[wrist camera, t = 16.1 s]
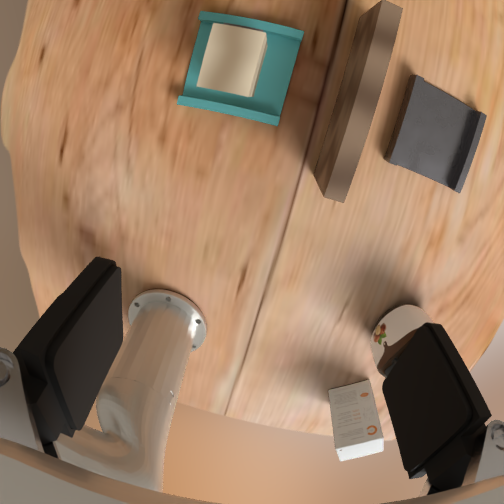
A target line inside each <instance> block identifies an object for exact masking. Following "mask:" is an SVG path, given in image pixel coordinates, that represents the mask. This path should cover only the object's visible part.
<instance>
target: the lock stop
mask: <svg viewBox="0 0 504 504" xmlns="http://www.w3.org/2000/svg"><path fill="white" fill-rule="evenodd" d="M267 47H268V46H267V37H266V33H265V32H263V30H261V29H256V28H251V27H246V26H241V25H236V24H230V23H224V24H218V23H213V26H212V29H211V33H210V36H209V40H208V43H207V47H206V51H205V54H204V58H203V62H202V66H201V70H200V74H199V78H198V82H197V87H203V88H208V89H213V90H218V91H223V92H228V93H233V94H237V95H242V96H246V97H254V94H255V90H256V86H257V83H258V79H259V75H260V72H261V68H262V65H263V61H264V57H265V54H266V50H267Z"/></svg>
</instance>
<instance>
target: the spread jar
mask: <svg viewBox="0 0 504 504" xmlns="http://www.w3.org/2000/svg"><path fill="white" fill-rule="evenodd" d="M427 322H428V323H434V322H433V320H432V318H431V317H430V316H429V315H428V314H427V313H426V312H425V311H424V310H423V309H421V308H419V307H417V306H414V305H410V304H402V305H398V306H395V307H393V308H391V309H389V310H388V311H387V312H385V313H384V314H383V315H382V316H381V317H380V319H379V320H378V322H377V323H376V325H375V328H374V330H373V333H372V337H371V350H372V354H373V358H374V361H375V364H376V367H377V369H378V371H379V373H380V374H381V375H383V376H384V377H385V378H386V377H387V376H388V374H389V373H390V371H391V370H392V368H393V367H394V365H395V364H396V362H397V361H398V359H399V358H400V356H401V355H402V353H403V352H404V350H405V349H406V347H407V345H408V344H409V342H410V341H411V339H412V337H413V336H414V334H415V332H416V331H417V329H418V328H419V327H420V326H422V325H423V324H424V323H427Z"/></svg>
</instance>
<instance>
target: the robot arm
mask: <svg viewBox="0 0 504 504" xmlns="http://www.w3.org/2000/svg"><path fill="white" fill-rule="evenodd" d="M128 319H129V324H130V326H131V327H130V328H129V330H128V332H127V334H126V336H125V338H124V340H123V321H122V293H121V268H120V267H117V266H116V262H115V261H113V260H109V259H105V258H101V257H96V258H94V259H93V260H92V262H91V263H90V264H89V265H88V266H87V267H86V268H85V269H84V270H83V271H82V272H81V273H80V275H79V276H78V277H77V278H76V279H75V280H74V281H73V282H72V283H71V285H70V286H69V287H68V288H67V289H66V290H65V291H64V293H62V294H61V295H59V296H58V297H57V299H56V300H55V301H54V302H53V303H52V304H51V306H50V307H49V308H48V309H47V310H46V312H45V313H44V314H43V315H42V316H41V318H40V319H39V320H38V321H37V323H36V324H35V325H34V326H33V327H32V329H31V330H30V331H29V333H28V334H27V335H26V336H25V338H24V339H23V340H22V341H21V343H20V344H19V345H18V347H17V348H16V349H15V351H14V352H13V353H12V352H10V351H9V350H7V349H5V348H1V347H0V504H220V503H213V502H206V501H201V500H195V499H190V498H184V497H179V496H175V495H170V494H165V493H162V489H163V465H164V454H165V448H166V442H167V437H168V433H169V429H170V425H171V421H172V417H173V413H174V410H175V406H176V402H177V399H178V395H179V391H180V388H181V384H182V381H183V377H184V373H185V370H186V366H187V363H188V359H189V356H190V352H192V351H194V350H196V349H198V348H199V347H200V346H201V345H202V343H203V342H204V340H205V337H206V333H207V324H206V320H205V317H204V316H203V314H202V312H201V311H200V310H199V308H198V307H197V306H196V305H195V304H194V303H193V302H192V301H190V300H189V299H187V298H186V297H184V296H182V295H180V294H178V293H175V292H172V291H169V290H162V289H153V290H148V291H145V292H142V293H140V294H139V295H138V296H136V297H135V299H134V300H133V301H132V303H131V305H130V307H129V310H128ZM382 390H383V394H384V397H385V400H386V404H387V407H388V410H389V414H390V417H391V421H392V424H393V428H394V431H395V435H396V439H397V442H398V446H399V449H400V454H401V457H402V462H403V466H404V469H405V470H406V471H408V475H409V479H413V478H419V477H422V476H424V475H425V474H427V476H428V478H427V480H426V482H425V484H424V487H423V489H422V491H421V493H420V495H419V497H417V498H413V499H407V500H401V501H395V502H389V503H382V504H504V422H502V421H500V420H494V421H491V422H490V423H489V424H488V425H487V426H485V424H484V423H485V422H486V421H487V420H488V419H489V418H490V417H491V416H492V415H491V413H490V411H489V409H488V407H487V405H486V403H485V401H484V399H483V397H482V395H481V393H480V391H479V389H478V387H477V385H476V383H475V381H474V380H473V378H472V376H471V374H470V372H469V370H468V369H467V367H466V365H465V363H464V361H463V360H462V358H461V356H460V354H459V353H458V351H457V349H456V348H455V346H454V344H453V343H452V341H451V339H450V338H449V336H448V334H447V333H446V331H445V329H444V328H443V326H442V325H440V324H435V323H428V322H427V323H424V324H423V325H422V326H420V327H419V328H418V329H417V331H416V332H415V334H414V336H413V337H412V339H411V341H410V342H409V344H408V345H407V347H406V349H405V350H404V352H403V353H402V355H401V356H400V358H399V359H398V361H397V362H396V364H395V365H394V367H393V368H392V370H391V371H390V373H389V374H388V376H387V377H386V379H385V380H384V382H383V386H382ZM96 397H97V398H96ZM95 399H96V409H97V416H98V419H99V423H100V426H101V428H102V431H103V432H100V431H98V430H96V429H93V428H91V427H89V426H87V425H85V421H86V419H87V417H88V415H89V412H90V410H91V408H92V406H93V404H94V401H95Z"/></svg>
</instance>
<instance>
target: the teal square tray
mask: <svg viewBox="0 0 504 504" xmlns="http://www.w3.org/2000/svg"><path fill="white" fill-rule="evenodd" d="M198 19H199V20H200V21H201V24H200V28H199V31H198V35H197V39H196V42H195V46H194V50H193V54H192V58H191V62H190V66H189V70H188V74H187V78H186V82H185V87H184V91H183V95H181V96H179V97H178V101H177V104H178V105H184V106H189V107H195V108H200V109H205V110H210V111H215V112H220V113H225V114H230V115H234V116H239V117H243V118H247V119H251V120H255V121H259V122H263V123H267V124H271V125H275V126H278V123H279V120H280V114H281V110H282V107H283V103H284V100H285V96H286V92H287V89H288V85H289V82H290V78H291V75H292V71H293V68H294V64H295V60H296V57H297V53H298V50H299V46H300V43H301V40H302V38H303V34H304V31H301V30H298V29H294V28H290V27H286V26H282V25H278V24H274V23H270V22H265V21H260V20H255V19H250V18H245V17H239V16H233V15H227V14H220V13H213V12H205V11H200V14H199V18H198ZM213 23H218V24H224V23H230V24H236V25H241V26H246V27H251V28H256V29H261V30H263V32H265V33H266V37H267V46H268V47H267V50H266V54H265V57H264V61H263V65H262V68H261V72H260V75H259V79H258V83H257V86H256V90H255V94H254V97H246V96H242V95H237V94H233V93H228V92H223V91H218V90H213V89H208V88H203V87H197V82H198V78H199V74H200V70H201V66H202V62H203V58H204V54H205V51H206V47H207V43H208V40H209V36H210V33H211V29H212V26H213Z"/></svg>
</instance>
